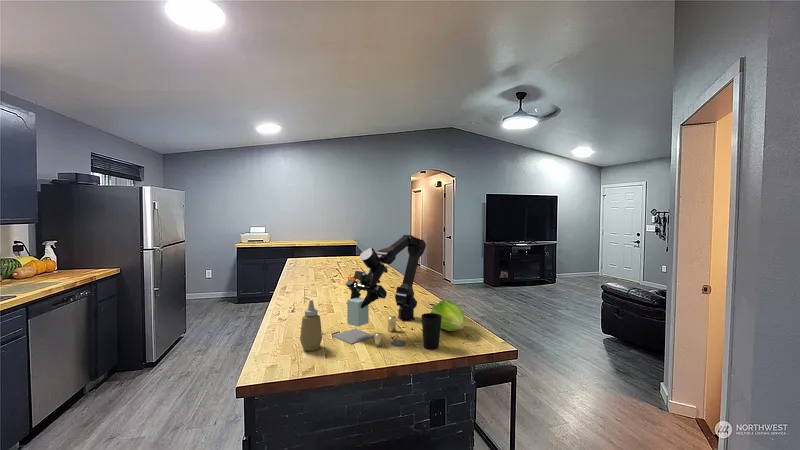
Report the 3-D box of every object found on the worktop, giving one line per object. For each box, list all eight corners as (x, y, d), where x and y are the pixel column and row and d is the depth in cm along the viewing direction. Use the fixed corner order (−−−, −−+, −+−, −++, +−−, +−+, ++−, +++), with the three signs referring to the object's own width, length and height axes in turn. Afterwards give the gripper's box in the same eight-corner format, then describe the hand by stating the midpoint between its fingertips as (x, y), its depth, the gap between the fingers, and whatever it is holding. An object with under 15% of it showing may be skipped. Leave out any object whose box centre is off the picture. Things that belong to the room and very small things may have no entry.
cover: (357, 319, 143) (357, 297, 142) (368, 322, 139) (368, 299, 138) (347, 323, 138) (347, 300, 137) (358, 326, 134) (358, 302, 134)
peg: (393, 329, 150) (394, 315, 150) (397, 331, 147) (397, 317, 147) (386, 330, 149) (386, 316, 148) (389, 332, 146) (389, 318, 145)
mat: (355, 329, 149) (355, 328, 149) (374, 336, 141) (374, 335, 141) (332, 336, 141) (332, 335, 141) (351, 344, 132) (351, 343, 132)
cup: (443, 344, 133) (443, 314, 132) (438, 352, 126) (439, 320, 125) (423, 342, 135) (424, 312, 135) (418, 349, 128) (419, 317, 128)
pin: (380, 343, 134) (380, 332, 133) (383, 346, 131) (383, 334, 131) (373, 344, 132) (373, 333, 132) (375, 347, 130) (376, 335, 129)
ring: (402, 340, 138) (402, 339, 138) (408, 345, 132) (408, 344, 132) (389, 342, 135) (389, 341, 135) (394, 347, 130) (394, 346, 130)
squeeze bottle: (310, 354, 123) (310, 304, 122) (295, 349, 127) (295, 301, 126) (326, 347, 129) (327, 299, 129) (311, 342, 134) (311, 296, 133)
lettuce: (444, 341, 136) (445, 311, 136) (426, 325, 156) (427, 299, 155) (476, 338, 140) (476, 309, 140) (454, 323, 160) (455, 297, 159)
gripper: (348, 260, 146) (328, 291, 138) (382, 265, 135) (362, 299, 127) (361, 276, 153) (343, 306, 144) (394, 282, 141) (376, 315, 133)
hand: (355, 306), depth 137 cm, fingers closed on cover, 6 cm apart
